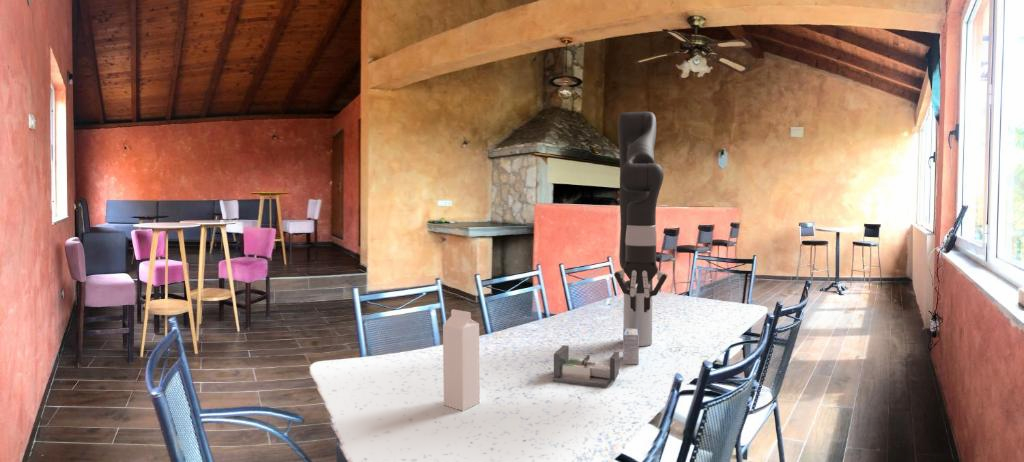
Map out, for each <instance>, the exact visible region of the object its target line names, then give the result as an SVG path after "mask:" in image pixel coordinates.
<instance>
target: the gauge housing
mask: <svg viewBox="0 0 1024 462" xmlns="http://www.w3.org/2000/svg"><path fill="white" fill-rule="evenodd" d="M569 353H570V350H569V345H566V344H565V345H564V344H563V345H561V347H560V348H559V349H557V350H556V351H555V352H554V353H553V377H552V382H555V383H556V382H557V383H565V384H571V385H578V386H579V385H580V386H587V387H593V388H594V387H595V388H600V389H601V388H603V389H607V387H608V385H609V384H610V382H611V381H612V380H610V378H604V377H596V376H591V367H588V366H582V361H583V360H584V359H580V358H573V357H572V358H569V357H570V356H569V355H570V354H569ZM587 364H592V365H596V361H594V360H588V361H587Z"/></svg>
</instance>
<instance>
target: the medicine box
mask: <svg viewBox="0 0 1024 462" xmlns="http://www.w3.org/2000/svg"><path fill="white" fill-rule="evenodd" d="M622 329H623V328H622ZM622 331H623V332H622V356H623V357H622V359H623V360H622V362H623V364H624V365H639V364H640V363H639V361H640V359H639V357H640V356H639V354H640V353H639V351H640V348H639V347H640V346H639V336H638V329H623V330H622Z"/></svg>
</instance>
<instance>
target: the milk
mask: <svg viewBox="0 0 1024 462" xmlns="http://www.w3.org/2000/svg"><path fill="white" fill-rule="evenodd" d="M450 313H451V314H450V316H449V318H448V319H446V321H445V322H444V323H443V324H442V349H443V350H442V355H443V357H442V359H443V360H442V362H443V365H442V366H443V367H442V369H443V370H442V371H443V372H442V373H443V406H445V405H446V407H448V406H449V407H448V408H451V407H452V409H454V408H455V409H454V410H458V409H459V410H458V411H461V410H462V412H464V411H467V410H469V409H470V407H471V408H472V406H473V407H474V405H475V406H477V405H479V404H480V402H481V397H480V392H481V391H480V389H481V387H480V386H481V385H480V383H481V382H480V380H481V379H480V323H478V322H477V321H475V320H473V319H472V314H471V313H472V312H470V311H464V310H461V309H460V310H459V309H451V311H450ZM463 410H464V411H463Z"/></svg>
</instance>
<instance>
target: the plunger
mask: <svg viewBox="0 0 1024 462" xmlns="http://www.w3.org/2000/svg"><path fill="white" fill-rule="evenodd" d="M590 357H591V355H590V354H587V355H586V356H585V357H584V358H583V359H582V360H583V361H582V366H588V367H591V376H596V377H604V378H610V380H611V381H616V379H617V378H618V375H620V351H619V352H618V351H614V352H613V353H612V355H611V356H610V358H609V365H601V364H595V365H592V364H587V361H590Z"/></svg>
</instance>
